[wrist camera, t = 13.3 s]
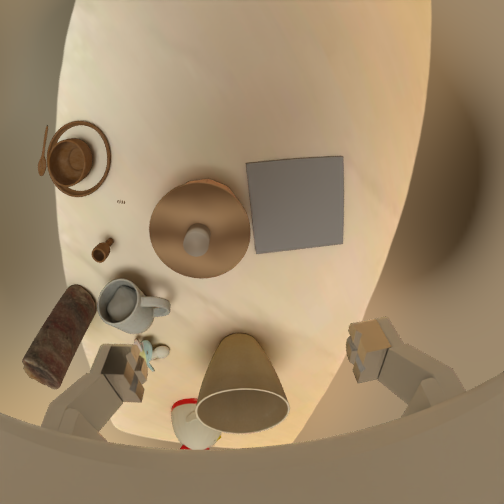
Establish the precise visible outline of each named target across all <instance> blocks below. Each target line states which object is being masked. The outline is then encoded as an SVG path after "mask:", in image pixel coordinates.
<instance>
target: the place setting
mask: <svg viewBox="0 0 504 504" xmlns="http://www.w3.org/2000/svg"><path fill="white" fill-rule="evenodd" d="M78 125H85V126H89V127H91V128H93V129H95V130H96V131H97V132H98V133H99V134H100V136H101V137H102V139H103V141H104V144H105V147H106V151H107V167H106V171H105V173H104V176H103V177H102V179H101V180H100V182H99V183H98V184H97V185H95V186H94V187H93V188H91V189H89V190H85V191H76V190H72V189H70V188H68V187H70V186H73V185H75V184H77V183H79V182H80V181H82V180H83V179H84V178H85V177H86V176H87V175H88V173H89V172H90V170H91V167H92V153H91V150H90V148H89V146H88V145H87V144H86V143H85V142H84V141H82V140H80V139H76V138H71V139H66V140H62V141H60V142H58V143H57V141H58V139H59V138H60V136H61V135H62V134H63V133H64V132H65V131H66V130H68V129H69V128H71V127H74V126H78ZM47 133H48V125H47V126H46V130H45V135H44V142H43V151H42V156H41V159H40V161H39V163H38V171H39V174H40V176H43V175H44V173H45V170H46V159H45V156H44V153H45V145H46V140H47ZM56 143H57V144H56ZM110 160H111V156H110V148H109V144H108V142H107V139H106V137H105V136H104V134H103V133H102V131H101V130H100V129H99V128H97V127H96V126H95V125H93V124H91V123H88V122H85V121H74V122H70V123H68V124H66V125H64V126H63V127H61V128H60V129H59V130H58V131H57V132H56V133H55V135H54V136H53V138H52V140H51V142H50V145H49V148H48V152H47V167H48V171H49V175H50V177H51V179H52V181H53V183H54V184H55V185H56V187H57V188H58V189H59V190H60V191H62V192H63V193H65V194H67V195H69V196H73V197H83V196H87V195H89V194H91V193H93V192H94V191H96V190H97V189H98V188H99V187H100V186H101V185H102V183H103V182H104V180H105V178H106V176H107V174H108V171H109V167H110ZM117 203H118V202H117ZM122 203H123V201H122ZM124 204H125V201H124ZM112 243H113V239H112V238H109V239H108V240H107V241H106V243H104V242H103V243H99V244H98V245H97V246H96V247H95V248H94V249H93V251H92V257H93V259H94V260H95V261H96V262H99V263H101V262H104V261H105V259H106V258H107V257H108V255H109V253H110V247H109V246H111V245H112Z"/></svg>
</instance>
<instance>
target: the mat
mask: <svg viewBox="0 0 504 504" xmlns="http://www.w3.org/2000/svg"><path fill="white" fill-rule="evenodd" d="M246 167H247V176H248V185H249V194H250V203H251V212H252V221H253V231H254V240H255V249H256V254H261V253H270V252H279V251H287V250H296V249H304V248H313V247H321V246H330V245H338V244H343V226H344V165H343V156H332V157H313V158H298V159H285V160H273V161H263V162H253V163H246Z"/></svg>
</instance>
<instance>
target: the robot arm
mask: <svg viewBox="0 0 504 504" xmlns="http://www.w3.org/2000/svg"><path fill="white" fill-rule="evenodd" d="M348 331H349V334H350V336H349V337H348V339H347V342H346V352H347V356H348V359H349V362H350V363H352V364H353V365H354V367H353V372H354V375H355V378H356V380H357V383H362V382H367V381H371V380H376V379H378V381H379V382H381V383H382V384H383V385H384V386H386V387H387V388H388V389H389V390H391V391H392V392H393V393H394V394H395V395H397V396H398V397H399V398H400V399H402V400H403V401H404V402H405V403H407V404H408V407H407V408H406V410H405V411H404V413H403V415H402V416H401V418H399V419H396V420H393V421H389V422H386V423H383V424H380V425H376V426H373V427H369V428H366V429H362V430H358V431H354V432H350V433H345V434H341V435H336V436H332V437H327V438H322V439H316V440H311V441H305V442H298V443H291V444H284V445H276V446H267V447H256V448H242V449H220V450H188V449H165V448H151V447H141V446H131V445H124V444H116V443H110V442H107V440H106V439H105V438H104V437H103V436H102V435H101V434H100V433H99V431H100V430H101V428H102V427H103V426H104V425H105V424H106V423H107V421H108V420H109V419H110V418H111V417H112V415H113V414H114V413H115V412H116V411H117V410H118V408H119V407H120V406H121V405H122V404H123V402H142V398H143V394H144V388H143V386H142V384H143V383H144V382H146V381H147V376H148V367H147V364H146V361H145V359H144V358H143V357H141V356H140V355H139V354H140V349H139V347H138V346H137V345H135V344H102V345H101V346H100V348H99V351H98V353H97V355H96V358H95V360H94V363H93V365H92V368H91V370H90V373H86V374H85V375H84V376H82V377H81V378H80V379H79V380H77V381H76V382H75V383H74V384H73V385H71V386H70V387H69V388H68V389H67V390H65V391H64V392H63V393H62V394H61V395H59V396H58V397H57V398H56V399H55V400H53V401H52V402H51V403H50V405H49V407H48V409H47V412H46V415H45V417H44V420H43V423H42V425H41V427H40V426H36V425H33V424H30V423H27V422H24V421H21V420H18V419H16V418H13V417H10V416H8V415H5V414H2V413H0V504H504V371H503V372H502V373H500V374H498V375H497V376H495V377H493V378H491V379H489V380H487V381H486V382H484V383H482V384H480V385H478V386H476V387H474V388H472V389H470V390H468V391H466V390H465V389H464V387H463V385H462V383H461V382H460V380H459V378H458V377H457V375H456V373H455V372H454V370H453V368H451V367H449V366H447V365H445V364H444V363H442V362H440V361H438V360H436V359H434V358H433V357H431V356H429V355H427V354H426V353H424V352H422V351H420V350H418V349H416V348H415V347H413V346H411V345H409V344H404V343H403V341H402V340H401V338H400V336H399V335H398V333H397V331H396V330H395V328H394V326H393V325H392V323H391V321H390V320H389V318H388V317H386V316H385V317H381V318H376V319H371V320H366V321H361V322H356V323H351V324H350V326H349V330H348Z"/></svg>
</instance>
